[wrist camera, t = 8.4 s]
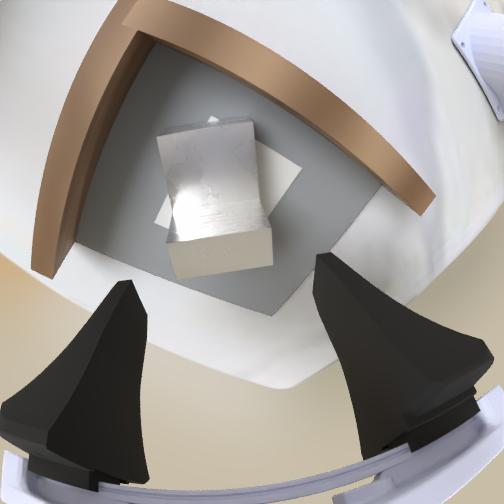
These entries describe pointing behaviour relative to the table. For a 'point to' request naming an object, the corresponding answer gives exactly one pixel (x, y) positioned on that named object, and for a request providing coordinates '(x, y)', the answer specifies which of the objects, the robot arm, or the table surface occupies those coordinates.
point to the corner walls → (215, 56)
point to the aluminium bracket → (214, 198)
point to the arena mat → (269, 181)
